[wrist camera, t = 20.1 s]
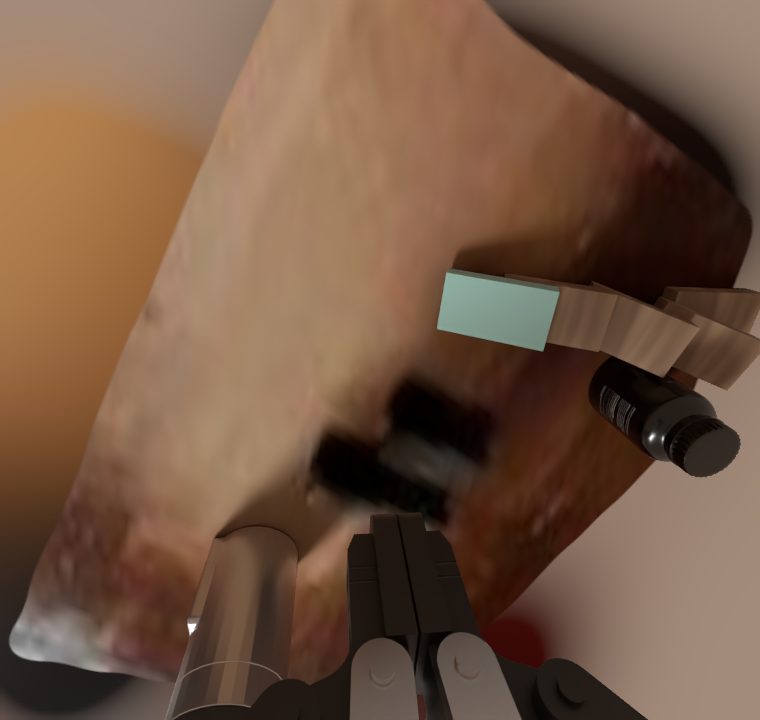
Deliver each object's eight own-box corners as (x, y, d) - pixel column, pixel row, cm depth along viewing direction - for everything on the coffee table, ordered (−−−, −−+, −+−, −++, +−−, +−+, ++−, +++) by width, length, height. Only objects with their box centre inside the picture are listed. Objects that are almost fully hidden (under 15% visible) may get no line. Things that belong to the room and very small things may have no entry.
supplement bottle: (618, 421, 46) (706, 499, 35) (572, 397, 44) (651, 471, 33) (662, 371, 44) (771, 437, 33) (616, 343, 42) (716, 404, 31)
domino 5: (633, 350, 39) (727, 390, 39) (668, 302, 37) (768, 344, 36) (627, 341, 41) (715, 380, 41) (659, 296, 39) (754, 336, 38)
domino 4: (661, 342, 40) (744, 343, 42) (678, 291, 38) (766, 294, 40) (645, 334, 42) (725, 335, 44) (661, 285, 40) (745, 288, 42)
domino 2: (492, 332, 38) (598, 351, 36) (505, 277, 36) (617, 295, 34) (492, 325, 40) (593, 343, 38) (504, 272, 38) (611, 289, 36)
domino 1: (436, 329, 37) (543, 351, 35) (446, 272, 35) (559, 292, 33) (441, 322, 39) (542, 343, 37) (451, 268, 37) (558, 286, 35)
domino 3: (564, 334, 39) (662, 377, 37) (594, 284, 37) (700, 328, 35) (563, 328, 41) (657, 369, 39) (591, 280, 39) (691, 321, 37)
